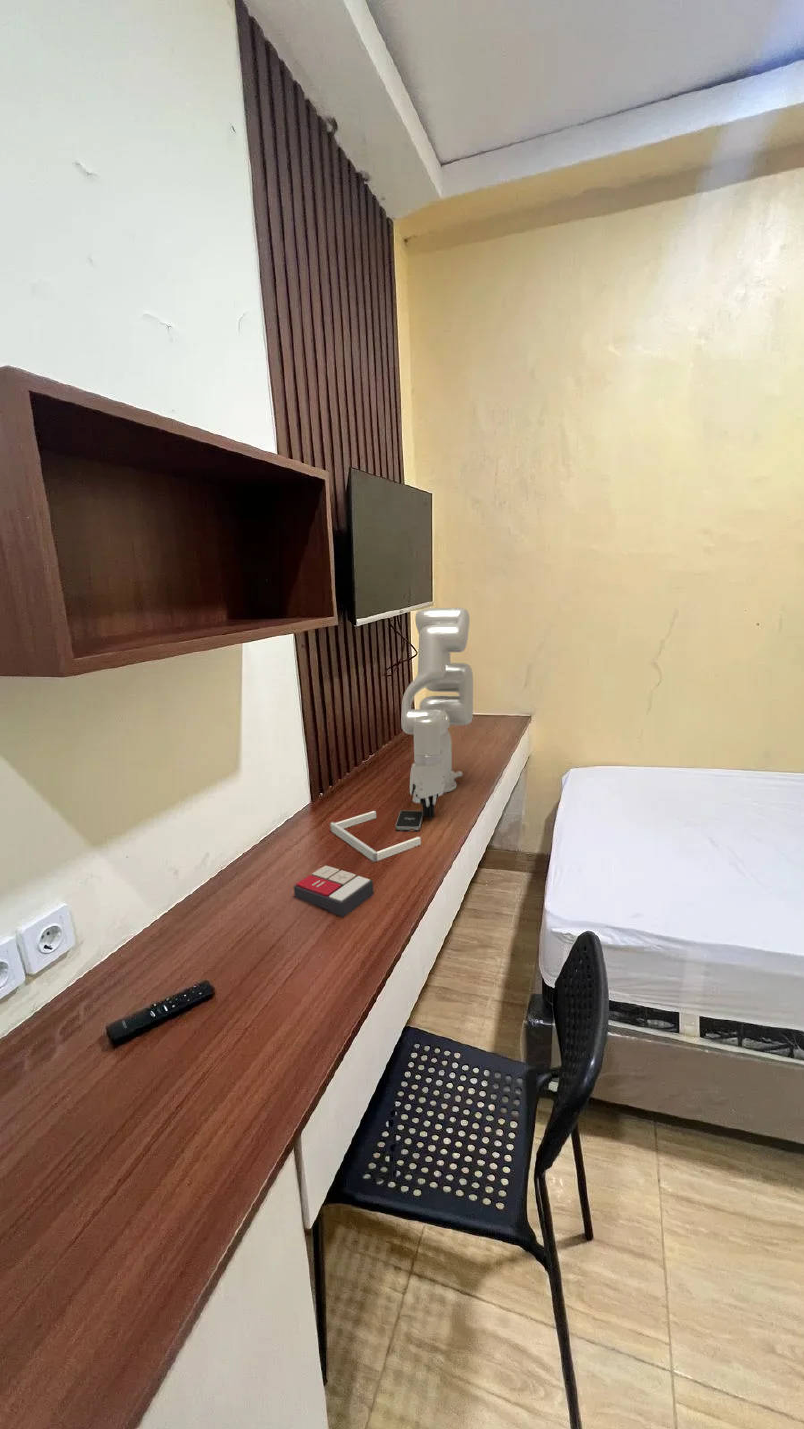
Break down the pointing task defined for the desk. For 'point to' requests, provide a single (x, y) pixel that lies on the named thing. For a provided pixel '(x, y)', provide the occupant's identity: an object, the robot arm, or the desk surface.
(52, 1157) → the desk surface
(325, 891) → the button keypad
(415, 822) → the external hard drive
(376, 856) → the white u-shaped frame
